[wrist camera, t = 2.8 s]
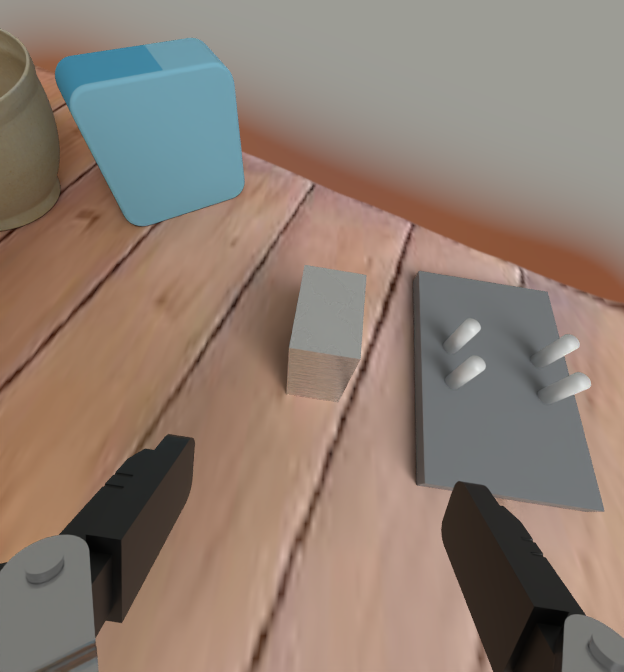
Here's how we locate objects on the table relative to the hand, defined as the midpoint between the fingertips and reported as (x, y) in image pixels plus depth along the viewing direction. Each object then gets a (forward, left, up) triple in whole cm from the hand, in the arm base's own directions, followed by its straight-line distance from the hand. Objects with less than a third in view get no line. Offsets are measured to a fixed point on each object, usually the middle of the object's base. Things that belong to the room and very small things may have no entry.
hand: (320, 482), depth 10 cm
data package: (-16, +26, -14) cm, 34 cm away
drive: (0, +10, -14) cm, 17 cm away
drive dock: (+14, +11, -13) cm, 22 cm away
